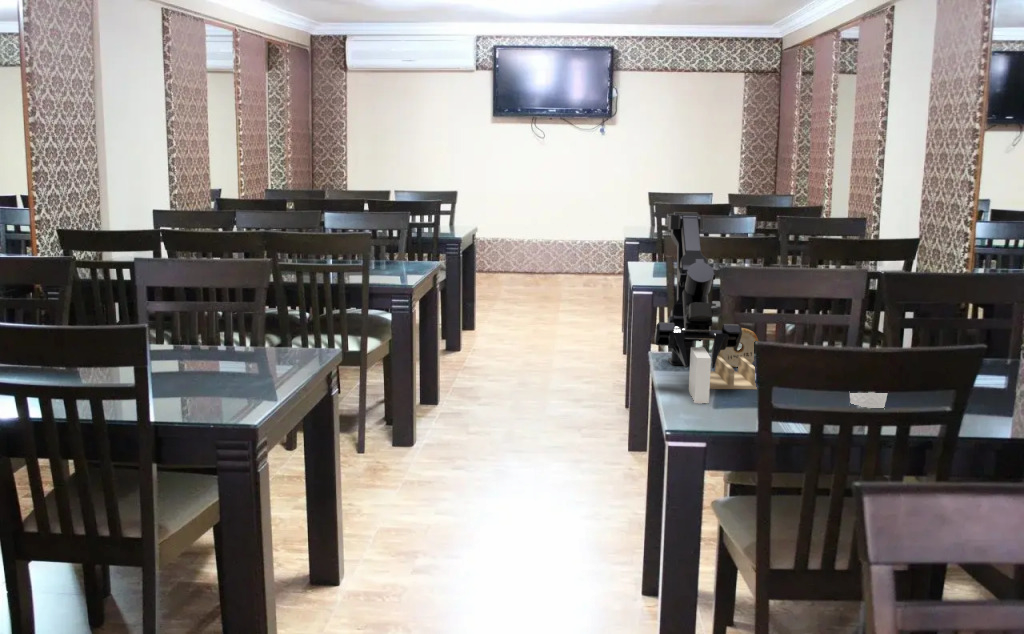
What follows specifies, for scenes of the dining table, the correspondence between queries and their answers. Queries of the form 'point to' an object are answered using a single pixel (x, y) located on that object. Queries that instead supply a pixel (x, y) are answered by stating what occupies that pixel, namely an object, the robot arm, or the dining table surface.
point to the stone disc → (746, 351)
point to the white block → (699, 374)
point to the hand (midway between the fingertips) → (699, 366)
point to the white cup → (869, 399)
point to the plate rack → (733, 375)
